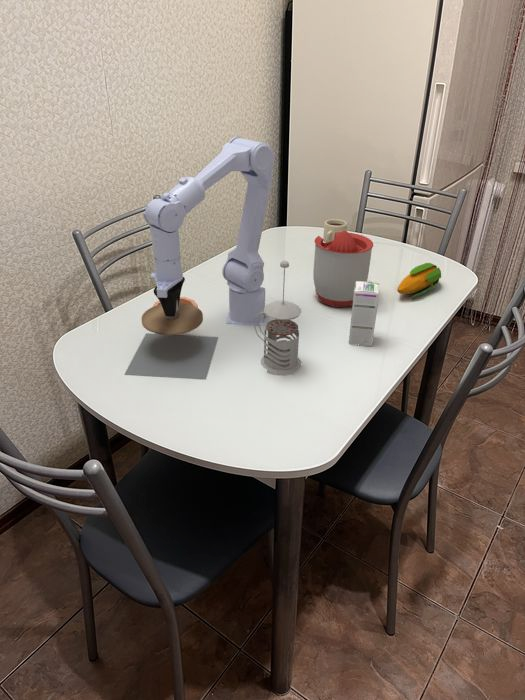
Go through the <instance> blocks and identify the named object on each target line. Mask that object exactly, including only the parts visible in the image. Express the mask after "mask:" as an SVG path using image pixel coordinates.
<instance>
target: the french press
mask: <svg viewBox="0 0 525 700" xmlns="http://www.w3.org/2000/svg"><path fill="white" fill-rule="evenodd" d="M279 266H280V268H282V269H283V283H282V285H283V286H282V287H283V289H282V300H275V301H273V302H270V303H268V304H267V305H266V304H265V308H264V310H263V311H262V312H261V313H264V314H265V315H264V319H267V318H268V317H269V318H271V319H272V320H270V321H268V322H267V323H266V324H265V330H264V332H263V330H262V328H261V325H260V324H259V318H260V315H261V313H259V314H258V315H259V317H258V325H257V326H258V327H259V330H260V332H261V334H262V335H263V336H264V339H263V338H262V337H261V336H260V335H259V334H258V331H257V329H256V325H255V321H256V318H257V316H258V315H257V316H256V318H255V320H254V325H253V326H254V327H253V328H254V331H255V334H256V335H257V337H258V338H259V339H260V340H261V341H262V342H263V356H262V357H261V359H260V364H261V366H262V367H263V368H264V369H265V370H267V371H266V372H267V374H270V375H274V376H288V375H292V374H295V373H297V372H299V369H300V370H301V368H300V367H302V366H301V363H302V360H301V359H300V358H299V357H298V356H299V343H300V342H299V341H300V340H299V339H300V330H299V325H298V324H297V323H296V322H295V321H293V320H295V319H296V318H299V316H300V315H301V314H302V308H301V307H300V306H299V305H297V303H294V302H292V301H289V300H285V280H286V277H285V276H286V268H289V267H290V263H289V261H288V260H285V259H284V260H281V261H280V263H279ZM293 334H294V335H293ZM290 336H291V337H290ZM292 338H293V339H292ZM281 339H283V340H281Z"/></svg>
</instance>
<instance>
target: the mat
mask: <svg viewBox="0 0 525 700" xmlns="http://www.w3.org/2000/svg"><path fill="white" fill-rule="evenodd" d="M218 339H219V336H206V335H205V336H203V335H189V334H188V335H187V334H185V335H183V334H177V335H161V334H156V333H153V332H149V333H148V332H146V333H145V334H144V336H143V339H142V341H141V342H140V343H139V346H138V348H137V350H136V352H135V353H134V355H133V358H132V359H131V361H130V363H129V365H128V367H127V369H126V371H125V372H124V375H125V376H138V377H155V378H171V379H172V378H173V379H187V380H188V379H191V380H204V381H205V380H207V377H208V373H209V370H210V367H211V363H212V360H213V357H214V353H215V350H216V346H217V343H218Z"/></svg>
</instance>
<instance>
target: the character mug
mask: <svg viewBox="0 0 525 700" xmlns="http://www.w3.org/2000/svg"><path fill="white" fill-rule="evenodd" d="M323 227H324V228H323V237H322V238H323V243H328V242H331V241H333V240H334V236H335V232H342V231H347V232H348V229H347V227H348V222H347V221H345V220H343V219H339V218H338V219H336V218H330V219H327V220H324V226H323Z"/></svg>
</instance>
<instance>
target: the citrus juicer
mask: <svg viewBox="0 0 525 700" xmlns="http://www.w3.org/2000/svg"><path fill="white" fill-rule="evenodd" d="M314 244H315V245H314V247H315V248H314V259H313V278H312V279H313V284H314V288H315V289H314V290H315V293H316V296H317V300H318V301H320V302H321V303H323V304H325V305H328V306H332V307H334V308H339V307H340V308H342V307H343V308H345V307H350V306H351V307H352V306H353V297H354V288H355V284H356V281H363V282H368V279H369V272H370V266H371V258H372V257H371V256H372V250H373V248H374V242H373V241H372V239H370V238H368V237H367V236H364V235H362V234H358V233H353V232H348V230H347V231H342V232H335V236H334V240H333V241H331V242H328V243H326V242H324V240H323V237H322V236H321V235H318V236H316V237H315V238H314Z"/></svg>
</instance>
